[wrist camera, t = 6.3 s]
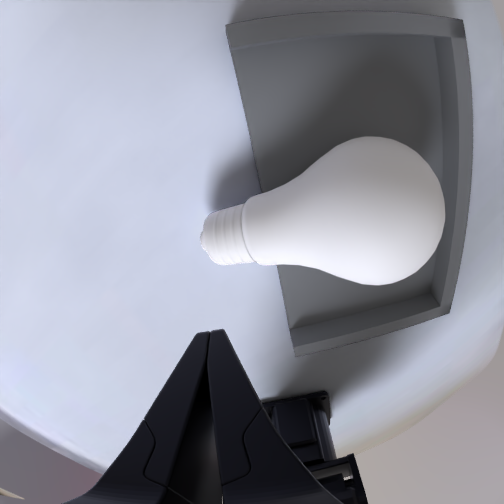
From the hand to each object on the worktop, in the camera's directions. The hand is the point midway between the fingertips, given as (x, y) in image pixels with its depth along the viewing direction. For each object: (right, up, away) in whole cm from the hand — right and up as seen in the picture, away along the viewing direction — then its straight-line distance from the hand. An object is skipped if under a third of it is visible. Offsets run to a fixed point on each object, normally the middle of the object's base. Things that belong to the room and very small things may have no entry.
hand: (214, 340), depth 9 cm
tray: (+7, +6, +6) cm, 11 cm away
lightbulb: (-1, +3, +6) cm, 7 cm away
